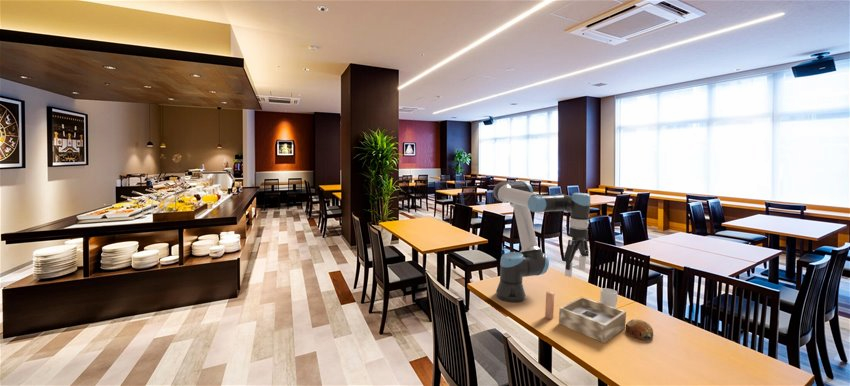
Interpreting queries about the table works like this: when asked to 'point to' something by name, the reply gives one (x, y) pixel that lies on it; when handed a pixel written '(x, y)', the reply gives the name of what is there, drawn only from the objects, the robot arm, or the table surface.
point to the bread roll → (639, 329)
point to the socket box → (592, 318)
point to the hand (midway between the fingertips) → (575, 272)
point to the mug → (608, 297)
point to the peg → (549, 305)
